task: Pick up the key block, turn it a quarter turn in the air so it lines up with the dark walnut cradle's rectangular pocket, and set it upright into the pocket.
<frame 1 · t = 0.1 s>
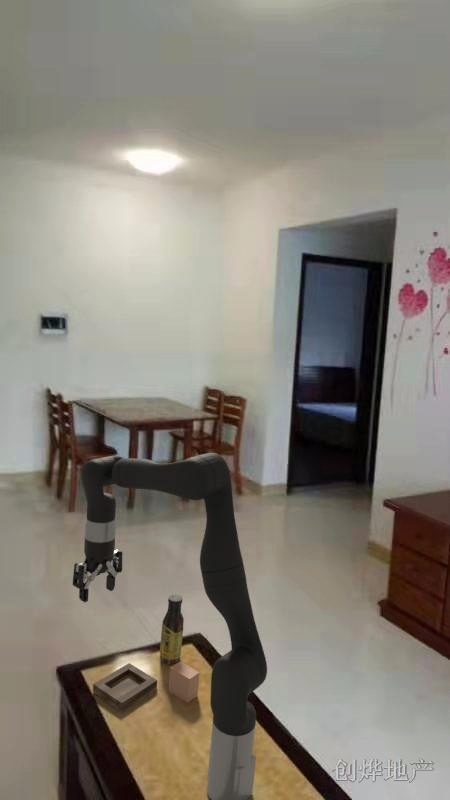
hand: (97, 595, 155), 29 cm above the table, tool pointing down, fingers open, 8 cm apart
key block: (182, 693, 165), on the table
sauce bottle: (170, 659, 180), on the table
cradle: (125, 690, 164), on the table
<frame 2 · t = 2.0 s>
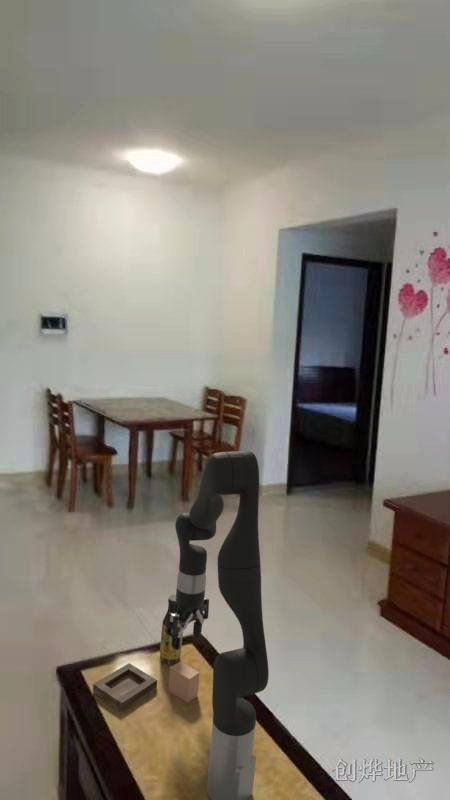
hand: (186, 641, 162), 15 cm above the table, tool pointing down, fingers open, 8 cm apart
nothing on the table moved.
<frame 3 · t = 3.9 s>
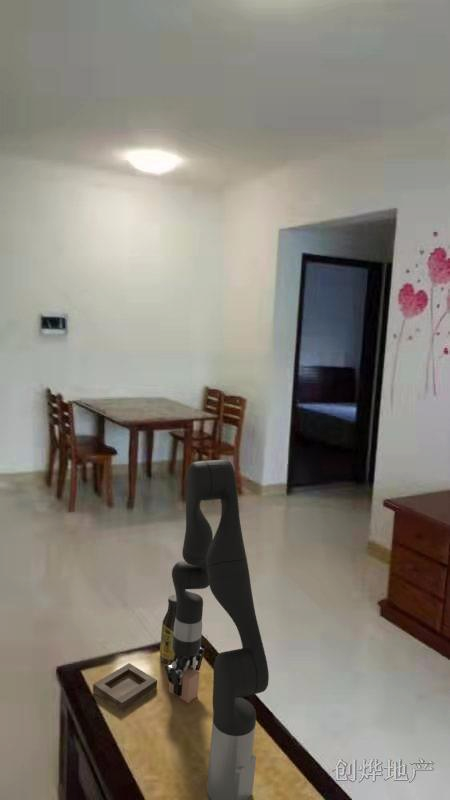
hand: (183, 690, 165), 1 cm above the table, tool pointing down, fingers closed on key block, 4 cm apart
key block: (183, 693, 165), on the table, touching gripper
everything else where it was.
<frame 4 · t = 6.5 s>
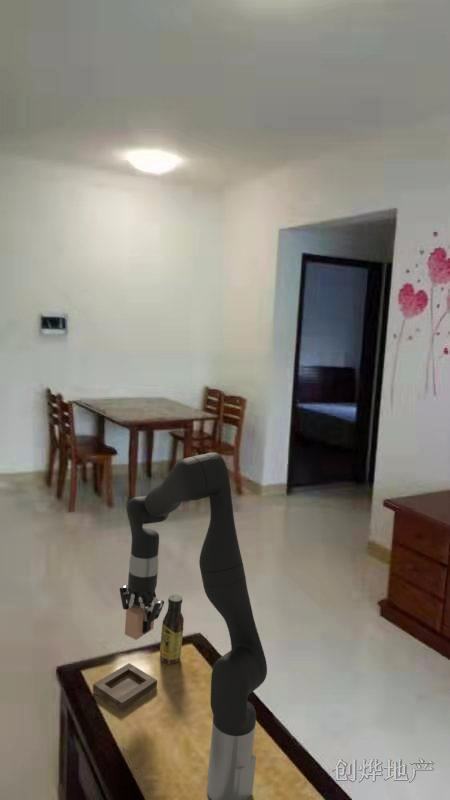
hand: (139, 628, 162), 18 cm above the table, tool pointing down, fingers closed on key block, 4 cm apart
key block: (139, 631, 162), point 17 cm above the table, touching gripper
everything else where it was.
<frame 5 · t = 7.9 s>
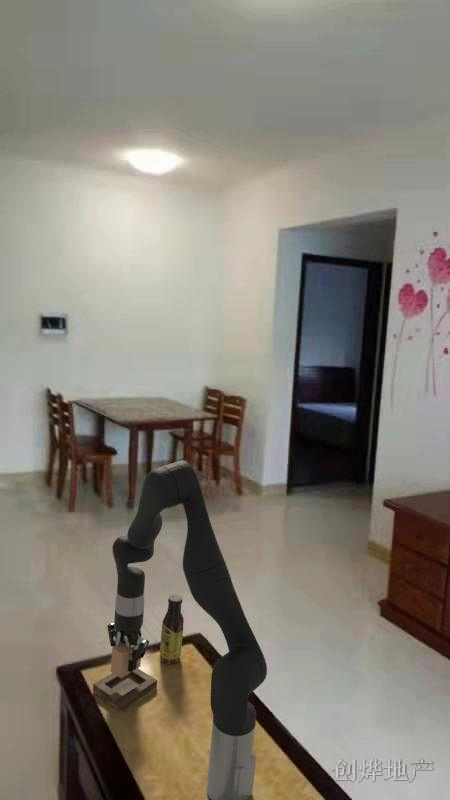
hand: (125, 666, 163), 7 cm above the table, tool pointing down, fingers closed on key block, 4 cm apart
key block: (125, 669, 163), point 6 cm above the table, touching gripper
everything else where it was.
when the fingers open (3 cm above the table, at t = 9.1 s): key block drops 1 cm, resting on cradle.
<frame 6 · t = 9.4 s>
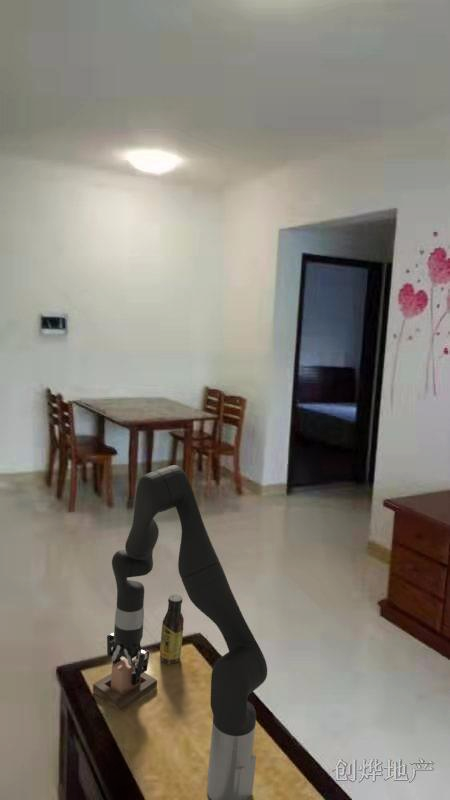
hand: (125, 678, 163), 4 cm above the table, tool pointing down, fingers open, 6 cm apart
key block: (125, 687, 164), point 1 cm above the table, touching cradle
everything else where it was.
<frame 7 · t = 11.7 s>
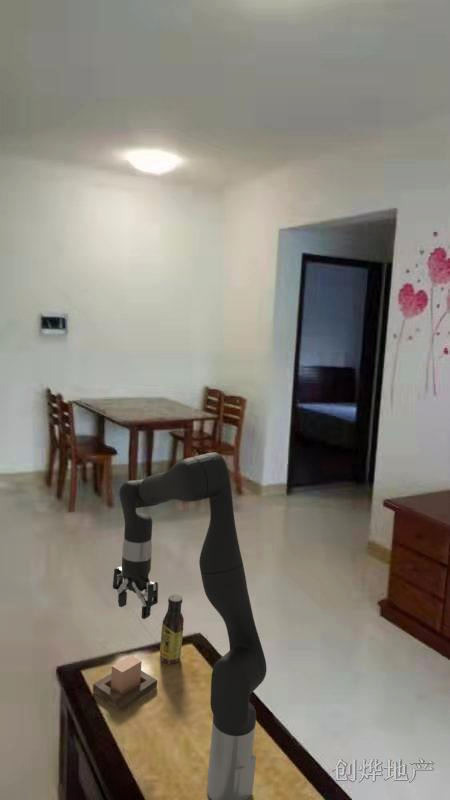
hand: (133, 611, 160), 23 cm above the table, tool pointing down, fingers open, 8 cm apart
nothing on the table moved.
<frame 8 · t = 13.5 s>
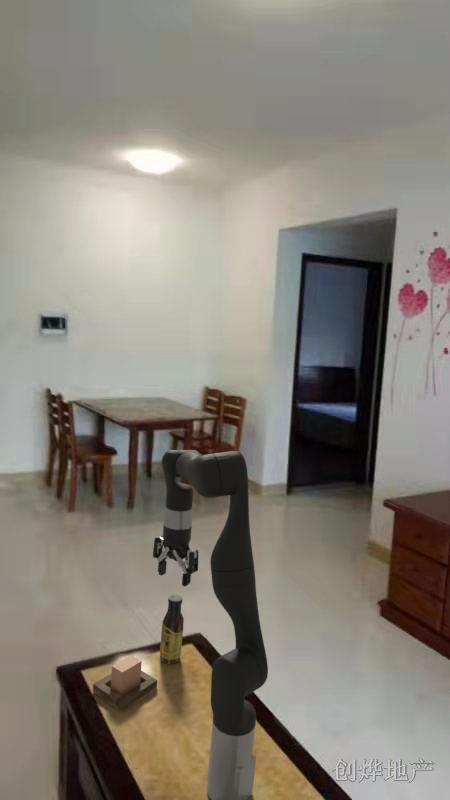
hand: (173, 579, 164), 30 cm above the table, tool pointing down, fingers open, 8 cm apart
nothing on the table moved.
at the end: key block 0.0 cm off-centre on the cradle, point 1.0 cm above the cradle's base; key block tilted 0°; the gripper is holding nothing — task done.
